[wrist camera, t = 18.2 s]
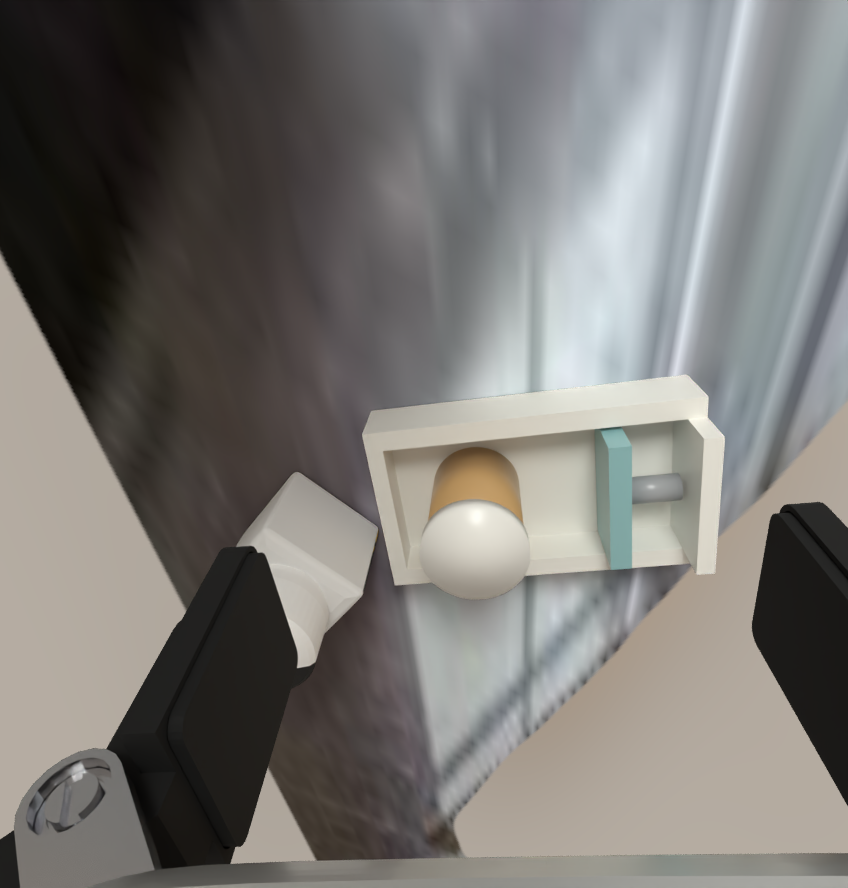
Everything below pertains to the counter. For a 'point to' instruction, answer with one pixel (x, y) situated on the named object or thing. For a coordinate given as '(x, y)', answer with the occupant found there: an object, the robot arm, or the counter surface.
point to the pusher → (624, 493)
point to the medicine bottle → (313, 560)
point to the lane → (558, 470)
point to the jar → (475, 526)
